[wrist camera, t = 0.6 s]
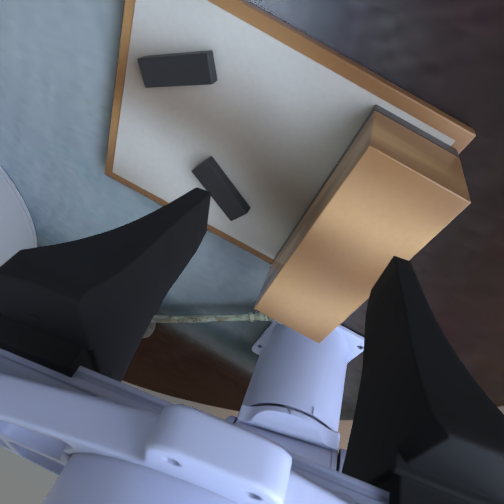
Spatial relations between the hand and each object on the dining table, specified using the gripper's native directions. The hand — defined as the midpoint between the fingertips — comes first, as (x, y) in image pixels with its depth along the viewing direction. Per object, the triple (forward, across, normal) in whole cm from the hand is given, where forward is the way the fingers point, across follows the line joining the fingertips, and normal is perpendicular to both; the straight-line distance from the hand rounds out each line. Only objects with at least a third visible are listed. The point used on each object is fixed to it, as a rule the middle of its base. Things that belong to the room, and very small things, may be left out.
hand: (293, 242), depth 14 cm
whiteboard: (+11, +4, +3) cm, 12 cm away
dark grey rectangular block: (+10, +10, -1) cm, 14 cm away
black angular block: (+10, +6, +6) cm, 13 cm away
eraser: (+10, -3, +4) cm, 11 cm away
